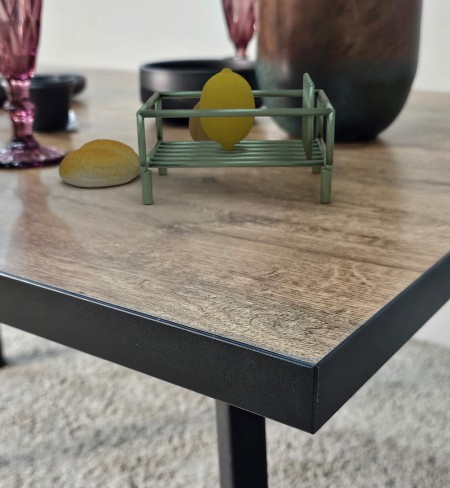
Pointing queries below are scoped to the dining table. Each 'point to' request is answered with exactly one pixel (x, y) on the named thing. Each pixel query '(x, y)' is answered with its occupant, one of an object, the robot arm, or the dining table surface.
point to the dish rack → (243, 151)
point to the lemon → (227, 97)
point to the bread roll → (100, 164)
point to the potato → (197, 128)
